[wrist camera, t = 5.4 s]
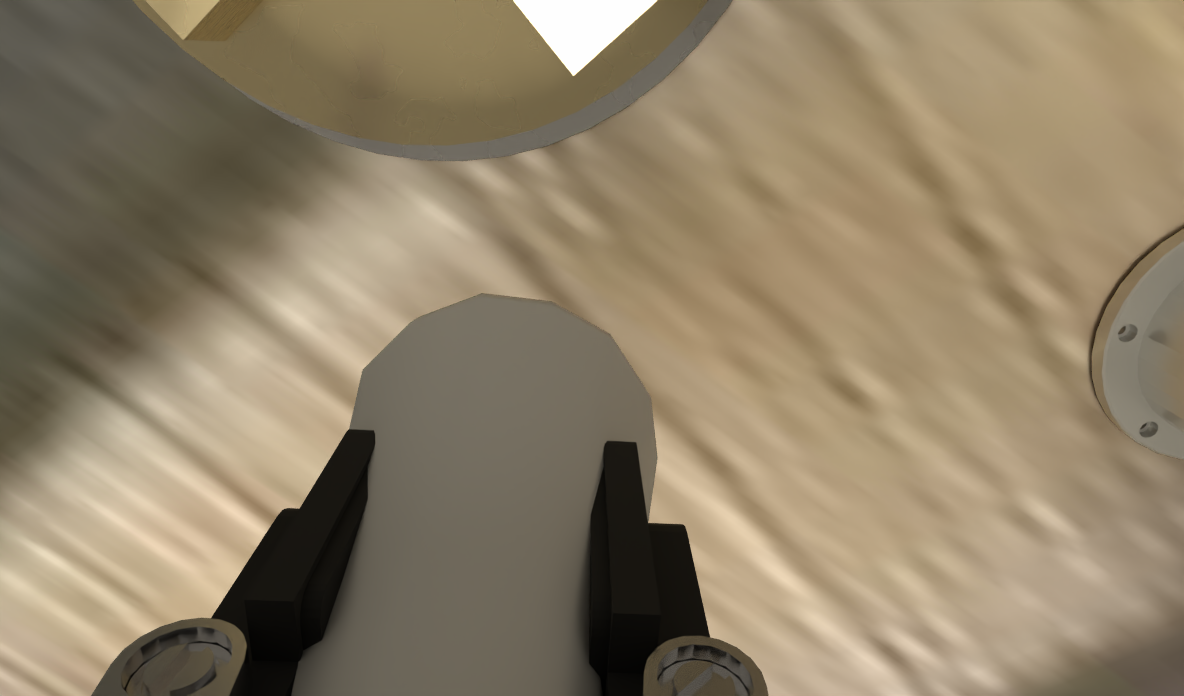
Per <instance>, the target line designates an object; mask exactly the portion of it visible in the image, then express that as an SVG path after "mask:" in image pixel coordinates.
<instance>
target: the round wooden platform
mask: <svg viewBox="0 0 1184 696" xmlns="http://www.w3.org/2000/svg"><path fill="white" fill-rule="evenodd" d="M133 1H134V2H135V4H136V5H137V6H138V7H139V8H140V9H141V10H142V12H143V13H144V14H145V15H146V16H148V17H149V18H150V19H151V20H152V21H153V22H154V23H155V24H156V25H157V26H158V27H159V28H161V29H162V30H163V31H164V32H165V33H166V34H167V35H168V36H169V37H170V38H171V39H172V40H173V41H175V42H176V43H177V44H178V45H179V46H180V47H181V48H182V49H183V50H184V51H186V52H187V53H189V54H190V55H191V56H193V57H194V58H195V59H197V60H198V61H199V62H201V63H202V64H203V65H205V66H206V67H207V68H209V69H210V70H211V71H213V72H214V73H215V74H217V75H218V76H219V77H221V78H222V79H224V80H225V81H227V82H228V83H230V84H232V85H233V86H235V87H237V88H239V89H240V90H242V91H244V92H246V93H247V94H249V95H251V96H252V97H254V98H256V99H258V100H259V101H261V102H263V103H265V104H266V105H268V106H270V107H273V108H275V109H277V110H280V111H282V112H284V113H287V114H289V115H291V116H294V117H296V118H298V119H300V120H303V121H305V122H307V123H310V124H312V125H315V126H319V127H322V128H326V129H329V130H333V131H336V132H340V133H343V134H346V135H350V136H353V137H357V138H363V139H369V140H376V141H382V142H389V143H395V144H401V145H444V146H448V145H456V144H465V143H474V142H482V141H491V140H495V139H499V138H503V137H507V136H511V135H515V134H518V133H522V132H526V131H530V130H534V129H537V128H539V127H541V126H544V125H546V124H549V123H551V122H554V121H556V120H559V119H561V118H563V117H566V116H568V115H571V114H573V113H576V112H578V111H579V110H581V109H583V108H585V107H586V106H588V105H590V104H591V103H593V102H595V101H597V100H598V99H600V98H602V97H604V96H605V95H607V94H609V93H610V92H612V91H614V90H616V89H617V88H618V87H620V86H621V85H622V84H624V83H625V82H626V81H628V80H629V79H630V78H631V77H633V76H634V75H635V74H637V73H638V72H639V71H641V70H642V69H643V68H644V67H646V66H647V65H648V64H650V63H651V62H652V61H653V60H655V59H656V58H657V57H658V56H659V55H660V54H661V53H662V52H663V51H664V50H665V49H666V48H667V47H668V46H669V45H670V44H671V43H672V42H673V41H674V40H675V39H676V38H677V37H678V36H679V35H680V34H681V33H682V32H683V31H684V30H685V29H686V28H687V27H688V26H689V25H690V23H691V22H692V21H693V20H694V18H695V17H696V16H697V14H698V13H699V12H700V11H701V9H702V8H703V7H704V5H705V4H706V3H707V2H708V0H133Z"/></svg>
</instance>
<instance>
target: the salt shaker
mask: <svg viewBox="0 0 1184 696" xmlns="http://www.w3.org/2000/svg"><path fill="white" fill-rule="evenodd" d="M349 429H358V430H374V432H375V447H374V450H373V453H372V456H371V459H370V462H369V464H368V500H367V503H366V506H365V510H364V513H363V516H362V519H361V522H360V526H359V529H358V532H357V535H356V539H355V542H354V545H353V548H352V551H351V555H350V558H349V561H348V564H347V567H346V571H345V574H344V577H343V580H342V583H341V586H340V589H339V592H338V595H337V598H336V601H335V603H334V606H333V609H332V612H331V615H330V618H329V621H328V624H327V627H326V630H325V633H324V636H323V638H322V641H320V642H318V643H316V644H314V645H313V646H311V647H309V648H307V649H305V650H303V654H302V657H301V660H300V661H299V662H298V668H297V671H296V676H295V680H294V685H293V689H292V694H291V696H603V691H602V685H601V679H600V677H599V675H598V674H597V673H596V672H595V670H594V669H593V668H592V667H591V665H590V664H589V627H590V540H591V511H592V508H593V504H594V500H595V497H596V493H597V489H598V486H599V482H600V478H601V475H602V471H603V468H604V445H605V443H606V442H607V441H625V442H636V443H637V449H638V456H639V463H640V470H641V477H642V484H643V491H644V498H645V505H646V512H647V519H648V520H649V513H650V506H651V499H652V492H653V485H654V478H655V471H656V464H657V449H656V440H655V431H654V421H653V412H652V402H651V397H650V395H649V393H648V392H647V390H646V388H645V387H644V385H643V384H642V382H641V380H640V379H639V377H638V376H637V374H636V373H635V371H634V370H633V368H632V367H631V365H630V364H629V362H628V361H627V359H626V357H625V356H624V354H623V353H622V351H621V350H620V348H619V347H618V345H617V344H616V342H615V341H614V339H613V337H612V336H611V334H609V333H607V332H606V331H604V330H602V329H600V328H598V327H597V326H595V325H593V324H591V323H589V322H588V321H586V320H584V319H582V318H581V317H579V316H577V315H575V314H573V313H572V312H570V311H568V310H566V309H564V308H563V307H561V306H559V305H557V304H555V303H554V302H551V301H543V300H535V299H526V298H518V297H510V296H501V295H493V294H484V293H482V294H479V295H476V296H474V297H471V298H468V299H466V300H463V301H460V302H458V303H455V304H452V305H450V306H447V307H444V308H442V309H439V310H436V311H434V312H431V313H428V314H426V315H423V316H420V317H418V318H417V319H415V320H414V321H412V322H411V323H409V324H408V325H407V326H406V327H405V328H404V329H403V330H402V331H401V332H400V333H399V334H398V335H397V336H396V337H395V338H394V339H393V340H392V341H391V342H390V343H389V344H388V345H387V346H386V347H385V348H384V349H383V350H382V351H381V352H380V353H379V354H378V355H377V356H376V357H375V358H374V359H373V360H372V361H371V362H370V363H369V364H368V365H367V366H366V367H365V368H364V369H363V371H362V375H361V380H360V384H359V388H358V393H357V397H356V401H355V406H354V410H353V415H352V419H351V423H350V428H349Z"/></svg>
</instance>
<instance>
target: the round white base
mask: <svg viewBox="0 0 1184 696" xmlns="http://www.w3.org/2000/svg"><path fill="white" fill-rule="evenodd" d="M731 1H732V0H708V2H707V3H706V4H705V5H704V7H703V8H702V9H701V11H700V12H699V13H698V14H697V16H696V17H695V18H694V20H693V21H692V22H691V23H690V25H689V26H688V27H687V28H686V29H685V30H684V31H683V32H682V33H681V34H680V35H679V36H678V37H677V38H676V39H675V40H674V41H673V42H672V43H671V44H670V45H669V46H668V47H667V48H666V49H665V50H664V51H663V52H662V53H661V54H660V55H659V56H658V57H657V58H656V59H655V60H653V61H652V62H651V63H650V64H648V65H647V66H646V67H644V68H643V69H642V70H641V71H639V72H638V73H637V74H635V75H634V76H633V77H631V78H630V79H629V80H628V81H626V82H625V83H624V84H622V85H621V86H620V87H618V88H617V89H616V90H614V91H612V92H610V93H609V94H607V95H605V96H604V97H602V98H600V99H598V100H597V101H595V102H593V103H591V104H590V105H588V106H586V107H585V108H583V109H581V110H579V111H578V112H576V113H573V114H571V115H568V116H566V117H563V118H561V119H559V120H556V121H554V122H551V123H549V124H546V125H544V126H541V127H539V128H537V129H534V130H530V131H526V132H522V133H518V134H515V135H511V136H507V137H503V138H499V139H495V140H491V141H482V142H474V143H465V144H456V145H448V146H444V145H401V144H395V143H389V142H382V141H376V140H369V139H363V138H357V137H353V136H350V135H346V134H343V133H340V132H336V131H333V130H329V129H326V128H322V127H319V126H315V125H312V124H310V123H307V122H305V121H303V120H300V119H298V118H296V117H294V116H291V115H289V114H287V113H284V112H282V111H280V110H277V109H275V108H273V107H270V106H268V105H266V104H265V103H263V102H261V101H259V100H258V99H256V98H254V97H252V96H251V95H249V94H247V93H246V92H244V91H242V90H240V89H239V88H237V87H235V86H233V85H232V84H231V85H232V86H233V87H235V88H236V89H237V90H239V91H240V92H241V93H243V94H244V95H245V96H247V97H248V98H249V99H251V100H253V101H255V102H256V103H258V104H260V105H261V106H263V107H265V108H267V109H268V110H270V111H272V112H274V113H275V114H277V115H279V116H280V117H282V118H284V119H286V120H287V121H289V122H291V123H293V124H295V125H298V126H300V127H302V128H305V129H307V130H309V131H312V132H314V133H316V134H319V135H321V136H323V137H326V138H328V139H330V140H333V141H336V142H339V143H342V144H346V145H349V146H353V147H356V148H360V149H363V150H367V151H370V152H374V153H377V154H384V155H390V156H397V157H403V158H410V159H416V160H438V161H468V160H477V159H485V158H494V157H503V156H509V155H513V154H516V153H520V152H524V151H528V150H532V149H536V148H540V147H544V146H548V145H550V144H553V143H555V142H558V141H560V140H563V139H565V138H568V137H570V136H572V135H575V134H577V133H580V132H582V131H585V130H587V129H589V128H591V127H593V126H595V125H596V124H598V123H600V122H602V121H603V120H605V119H607V118H609V117H610V116H612V115H614V114H616V113H617V112H619V111H621V110H623V109H624V108H626V107H628V106H629V105H630V104H631V103H633V102H634V101H635V100H637V99H638V98H639V97H641V96H642V95H643V94H645V93H646V92H647V91H649V90H650V89H651V88H653V87H654V86H655V85H656V84H658V83H659V82H660V81H662V80H663V79H664V78H665V77H666V76H667V75H668V74H669V73H670V72H671V71H672V70H673V69H674V68H675V67H676V66H677V65H678V64H679V63H680V62H681V61H682V60H683V59H684V58H685V57H686V56H687V55H688V54H689V53H690V52H691V51H693V50H694V49H695V48H696V47H697V46H698V44H699V43H700V42H701V40H702V39H703V38H704V37H705V35H706V34H707V33H708V32H709V30H710V29H711V28H712V27H713V25H714V24H715V23H716V21H717V20H718V19H719V18H720V16H721V15H722V14H723V13H724V11H725V10H726V9H727V8H728V6H729V5H730V3H731ZM229 84H230V83H229Z"/></svg>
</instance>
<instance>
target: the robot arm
mask: <svg viewBox="0 0 1184 696" xmlns="http://www.w3.org/2000/svg"><path fill="white" fill-rule="evenodd" d="M1092 379H1093V383H1094V387H1095V391H1096V396H1097V398H1098V400H1099V402H1100V404H1101V406H1102V408H1103V410H1104V412H1105V414H1106V415H1107V416H1108V417H1109V419H1110V420H1111V421H1112V422H1113V423H1114V424H1115V425H1116V426H1117V427H1118V428H1119V430H1121V431H1122V432H1123V433H1125V434H1126V435H1127V436H1129V437H1130V438H1132V439H1133V440H1134V441H1136V442H1137V443H1138V444H1140V445H1142V446H1144V447H1146V448H1148V449H1150V450H1152V451H1154V452H1156V453H1158V454H1162V455H1166V456H1169V457H1173V458H1177V459H1184V229H1182V230H1181V231H1179V232H1178V233H1176V234H1174V235H1173V236H1171V237H1170V238H1168V239H1167V240H1165V241H1164V242H1162V243H1161V244H1160V245H1159V246H1157V247H1156V248H1155V249H1154V250H1153V251H1152V252H1151V253H1149V254H1148V255H1147V256H1146V257H1145V258H1144V259H1142V260H1141V261H1140V262H1139V263H1138V264H1137V266H1136V267H1135V268H1134V269H1133V270H1132V271H1131V273H1130V274H1129V275H1128V276H1127V277H1126V278H1125V280H1124V281H1123V282H1122V283H1121V284H1120V286H1119V288H1118V289H1117V291H1116V292H1115V294H1114V296H1113V297H1112V299H1111V300H1110V302H1109V304H1108V305H1107V307H1106V309H1105V312H1104V314H1103V317H1102V319H1101V321H1100V324H1099V326H1098V329H1097V331H1096V336H1095V341H1094V346H1093V351H1092ZM374 447H375V432H374V430H358V429H349V430H348V431H347V432H346V434H345V435H344V437H343V438H342V440H341V442H340V443H339V445H338V447H337V448H336V450H335V452H334V453H333V455H332V456H331V458H330V460H329V461H328V463H327V465H326V466H325V468H324V470H323V471H322V473H321V474H320V476H319V478H318V479H317V481H316V483H315V484H314V486H313V488H312V489H311V491H310V492H309V494H308V496H307V497H306V499H305V501H304V502H303V504H302V506H301V507H300V509H294V508H287V509H284V510H282V511H281V512H280V514H279V515H278V516H277V517H276V519H275V521H274V522H273V524H272V525H271V527H270V528H269V530H268V531H267V533H266V534H265V536H264V538H263V539H262V541H261V542H260V544H259V545H258V547H257V548H256V550H255V551H254V553H253V554H252V556H251V558H250V559H249V561H248V562H247V564H246V565H245V567H244V568H243V570H242V571H241V573H240V574H239V576H238V578H237V579H236V581H235V582H234V584H233V585H232V587H231V588H230V590H229V591H228V593H227V595H226V596H225V598H224V599H223V601H222V602H221V604H220V605H219V607H218V608H217V610H216V611H215V613H214V615H213V616H212V618H196V619H188V620H181V621H178V622H174V623H171V624H168V625H165V626H161V627H159V628H157V629H155V630H153V631H151V632H149V633H147V634H145V635H143V636H141V637H140V638H138V639H137V640H136V641H134V642H133V643H132V644H130V645H129V646H128V647H126V648H125V649H124V650H123V651H122V652H121V653H120V654H119V655H118V657H117V658H116V659H115V660H114V661H113V663H112V664H111V665H110V667H109V668H108V670H107V671H106V673H105V675H104V676H103V678H102V679H101V681H100V683H99V684H98V686H97V687H96V689H95V690H94V692H93V694H92V695H91V696H291V694H292V689H293V685H294V680H295V676H296V671H297V668H298V662H299V661H300V660H301V657H302V654H303V650H305V649H307V648H309V647H311V646H313V645H314V644H316V643H318V642H320V641H322V638H323V636H324V633H325V630H326V627H327V624H328V621H329V618H330V615H331V612H332V609H333V606H334V603H335V601H336V598H337V595H338V592H339V589H340V586H341V583H342V580H343V577H344V574H345V571H346V567H347V564H348V561H349V558H350V555H351V551H352V548H353V545H354V542H355V539H356V535H357V532H358V529H359V526H360V522H361V519H362V516H363V513H364V510H365V506H366V503H367V500H368V464H369V462H370V459H371V456H372V453H373V450H374ZM589 664H590V665H591V667H592V668H593V669H594V670H595V672H596V673H597V674H598V675H599V677H600V679H601V685H602V691H603V696H768V691H767V686H766V683H765V680H764V678H763V675H762V672H761V671H760V669H759V668H758V667H757V666H756V664H755V663H754V662H753V660H752V659H751V658H750V657H748V656H747V655H746V654H745V653H743V652H742V651H741V650H739V649H738V648H737V647H735V646H732V645H730V644H728V643H726V642H724V641H721V640H719V639H714V638H710V635H709V630H708V626H707V621H706V617H705V612H704V608H703V603H702V599H701V594H700V589H699V585H698V580H697V576H696V571H695V567H694V562H693V558H692V553H691V549H690V544H689V539H688V535H687V531H686V528H685V526H684V525H682V524H658V523H648V519H647V512H646V505H645V498H644V491H643V484H642V477H641V470H640V463H639V456H638V449H637V443H636V442H625V441H607V442H606V443H605V445H604V468H603V471H602V475H601V478H600V482H599V486H598V489H597V493H596V497H595V500H594V504H593V508H592V511H591V540H590V627H589Z"/></svg>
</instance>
